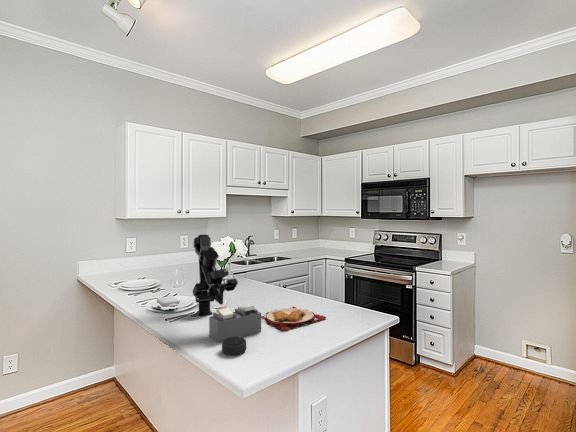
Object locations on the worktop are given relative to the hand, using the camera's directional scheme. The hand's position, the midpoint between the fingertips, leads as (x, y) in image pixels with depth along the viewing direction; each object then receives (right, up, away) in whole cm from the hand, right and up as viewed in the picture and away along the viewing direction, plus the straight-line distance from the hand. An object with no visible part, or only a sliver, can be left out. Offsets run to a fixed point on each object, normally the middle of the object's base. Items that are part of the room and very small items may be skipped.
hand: (221, 304), depth 144 cm
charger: (-33, -12, +36) cm, 50 cm away
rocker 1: (+2, -3, -2) cm, 4 cm away
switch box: (+6, -13, +1) cm, 14 cm away
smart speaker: (+8, -14, -16) cm, 22 cm away
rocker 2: (+10, -3, +4) cm, 11 cm away
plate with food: (+28, -13, +22) cm, 38 cm away
